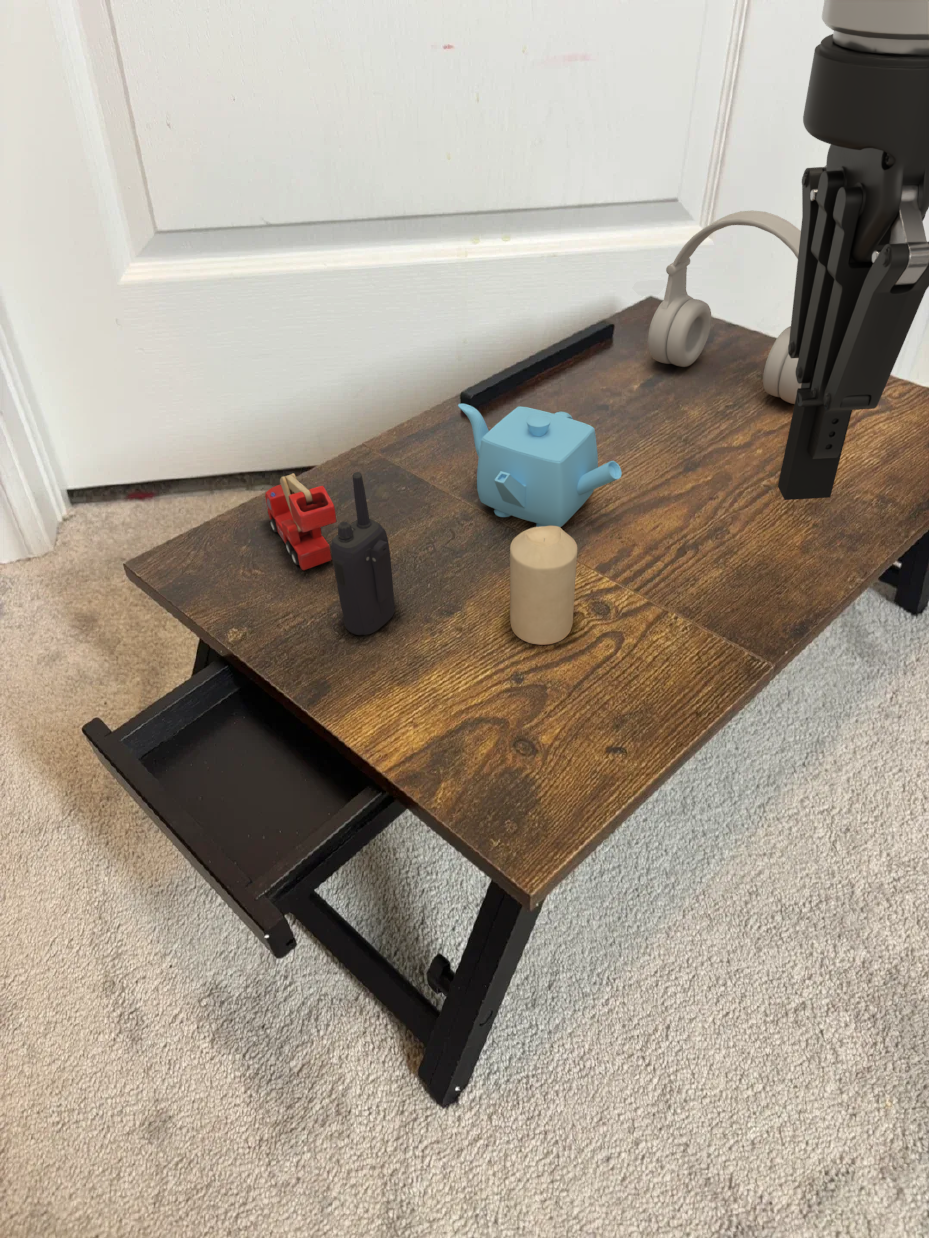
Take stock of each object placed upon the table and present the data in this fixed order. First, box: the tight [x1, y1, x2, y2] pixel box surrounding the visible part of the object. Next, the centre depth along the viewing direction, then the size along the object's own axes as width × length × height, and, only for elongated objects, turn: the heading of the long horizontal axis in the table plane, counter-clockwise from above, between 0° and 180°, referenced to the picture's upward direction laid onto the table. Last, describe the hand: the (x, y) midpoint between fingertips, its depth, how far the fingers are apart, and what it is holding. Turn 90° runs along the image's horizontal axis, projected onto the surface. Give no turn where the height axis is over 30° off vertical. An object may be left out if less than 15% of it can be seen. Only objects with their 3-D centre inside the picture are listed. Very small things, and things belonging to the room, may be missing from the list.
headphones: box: [647, 210, 802, 405], centre depth 107 cm, size 20×8×19 cm, turn 50°
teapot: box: [457, 403, 623, 528], centre depth 92 cm, size 18×14×10 cm
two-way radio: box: [330, 471, 396, 636], centre depth 78 cm, size 6×4×15 cm
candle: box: [509, 526, 578, 646], centre depth 79 cm, size 6×6×10 cm
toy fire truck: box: [264, 473, 337, 571], centre depth 88 cm, size 3×14×10 cm, turn 28°
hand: (803, 491), depth 56 cm, fingers closed
